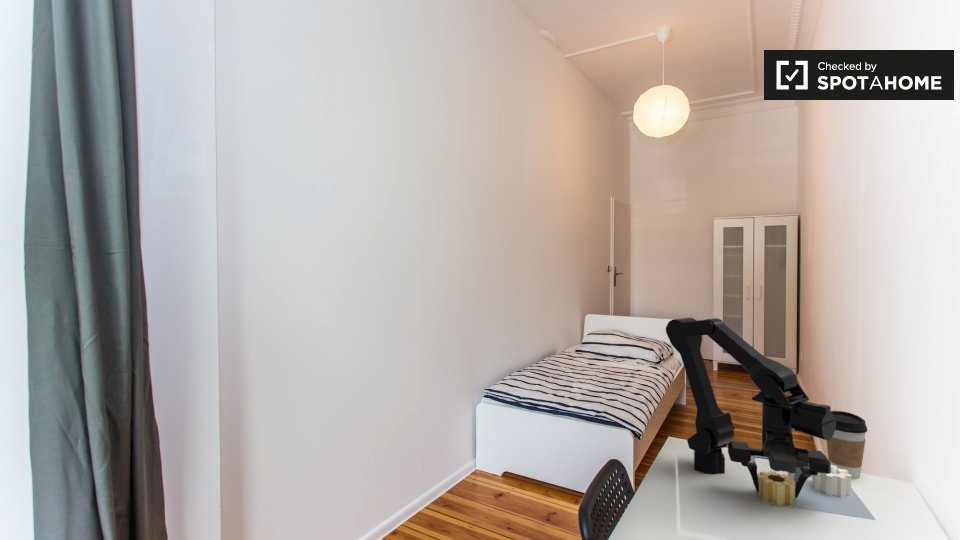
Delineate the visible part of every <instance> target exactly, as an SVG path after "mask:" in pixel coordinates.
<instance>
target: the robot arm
mask: <svg viewBox="0 0 960 540" xmlns="http://www.w3.org/2000/svg"><path fill="white" fill-rule="evenodd" d="M665 333H666V336H667V338H668V341H669V343H670V344H671V346H672V348H674V349H675V351H677V353H679V355H680V357H681V360H682V364H683V368H684V371H685V374H686V378H687V380H688V384H689V388H690V391H691V394H692V398H693V401H694V405H695V408H696V416H695V421H694V426H695V430H696V433H694V434H693V435H692V436H690V437H689V438H687V440H686V442H687V446H688V448H689V449H691V450H692V451H693V469H694V471H698V472H699V473H702V474H705V475H713V476H714V475H718V474H719V475H724V474H725V472H726V470H725V469H726V463H725V462H726V458H725V457H726V456H725V454H724V453H723V449H724V448H727V453H728V455H729V459H730V461H731V462H734V463H741V466H743V467H746V468H747V469H748V471H749V473H750V476H751V479H752V482H753V485H754V489H755V492H756V493H758V492H759V483H758V475H757V473H758V465H757V463H756V459H763V460H768V464H769V468H770V469H771V470H773V472H785V473H788V472H789V473H794V480H795V498H797V497H798V495H799V493H800V491H801V489H802V487H803V485H804V483H805V481H806V480H809V478H811V477H813V475H815V476H816V475H817V474H818V473H825V474H829V473H831V465H830V461H829V459H828V457H827V456H826V455H825V453H823V451H822V450H814V449H807V448H799V447H795V444H794V438H793V429H794V431H795V432H797V433H801V434H804V435H807V436H811V437H814V438H817V439H822V440H824V441H827V440H830V439H831V438H832V437H833V435H834V432H835V428H836V420H835V418H834V415H833V413H831V412H830V411H832V410H831V406H830V405H828V404H822V403H814V402H811V401H810V399H809V397H808V395H807V394H806V392H805V391H804V388H803V387H802V386H801V385H800V383H799V382H798V379H797V378H798V377H797V374H796V373H795V372H794V371H793V370H791V369H790V367H787V366H786V365H784V364H782V363H781V362H779V361H778V360H777V361H776V360H774V359H771V358H769V357H767V356H765V355H763V354H762V353H760V352H759V351H758V350H757V349H755V348H754V347H753V346H752V345H751V344H749V343H748V342H747V341H746V340H744V338H742V337H741V336H740V335H739V334H737V333H736V332H735V331H734V330H732V329H731V328H730V327H729V326H728V325H726V324H725V322H724V321H723V319H720V318H718V317H714V318H712V317H711V318H707V319H700V320H697V319H695V318H694V317H690V316H689V317H683V318H676V319H675V318H674V319H671V320H669V321H668V322H667V324H666V326H665ZM703 336H707V337H709V338H710V339H711V340H712V341H713V342H714V343H716V345H718V346H719V347H720V348H721V349H722V350H724V352H726V353H727V354H728V355H730V356H731V357H732V358H733V359H734V360H735V361H736V362H737V363H738V364H740V365H741V366H742V367H743V368H744V369H745V371H747V373H748V375H749V377H750V380H751V381H752V382H753V383H754V385H755V386H756V387H757V388H758V389H759V392H758V393H757V394H755V395H754V396H752V397H751V400H752V401H754V402H758V403H761V448H753V447H752V448H751V447H749V444H748V442H745V441H737V440H736V441H735V440H733V439H734V437H735V429H736V427H735V426H734V424H733V421H732V417H731V414H730V412H723V410H721V408H720V407H719V406H718V402H717V399H716V396H715V394H714V390H713V387H712V384H711V380H710V378H709V373H708V371H707V367H706V364H705V362H704V359H703V355H702V352H701V348H702V342H703ZM789 393H790V394H791V395H787V396H786V394H789Z"/></svg>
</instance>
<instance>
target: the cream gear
mask: <svg viewBox="0 0 960 540" xmlns="http://www.w3.org/2000/svg"><path fill="white" fill-rule="evenodd" d="M812 481H813V486H815V489H816V490H817V491H822V492H824V493H826V495H829V496H832V495H835V496H839V497H841V498H845V497H846V495H849V496H850V495H851V488H852V479H851V475H850V474H849V471H847V470H845V469H840V468H837V466H836V474H832V473H829V474H825V473H818V474H817V475H816V476H815V475H812Z"/></svg>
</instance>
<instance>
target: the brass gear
mask: <svg viewBox="0 0 960 540" xmlns="http://www.w3.org/2000/svg"><path fill="white" fill-rule="evenodd" d="M759 474H760V475H758V483H759V492H757V496H758V497H760V498H761V497H763V500H764V501H766V502H772V503H776V506H778V507H784V506H783V505H786V504H787V505H789V506H792V505H794V502H795V480H792V479H790V478H789V476H788V474H785V473H783V474H781V473H777V471H774V470H773V471H771V470H770V472H766V471H760V472H759Z"/></svg>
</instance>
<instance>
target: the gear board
mask: <svg viewBox="0 0 960 540" xmlns="http://www.w3.org/2000/svg"><path fill="white" fill-rule="evenodd" d="M831 473H832V474H836V466H834V465H831ZM757 475H760V472H759V473H758V472H757ZM787 476H789V478H790V479H792V480H794V473H789V472H787ZM760 498H761V500H762V503H763V504H768V505H769V504H770V505H776V503H772V502H766V501H764V500H763V497H760ZM776 506H777V505H776ZM782 507H789V508H795V509H802V510H807V511H813V512H820V513H827V514H833V515H840V516H847V517H852V518H853V517H854V518H858V519H860V518H861V519H865V520H872V521H876V518H875V516H874V515H873V514H872V513H871V511H870V510H869V509H868V507H867V506H866V505H865V504H864V502H863V501H862V500H861V498H860V497H859V495H858V494H856V492H855V490H853V488H852V487H851V495H850V496H849V495H846V497H845V498H841V497H839V496H835V495H832V496H829V495H826V493H824V492H822V491H817V490H816V489H815V486H813V480H810V479H807V480H806V481H805V483H804V485H803V487H802V489H801V491H800V493H799V495H798V497H797V498H795V502H794V505H792V506H789V505H787V504H786V505H783V506H782Z"/></svg>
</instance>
